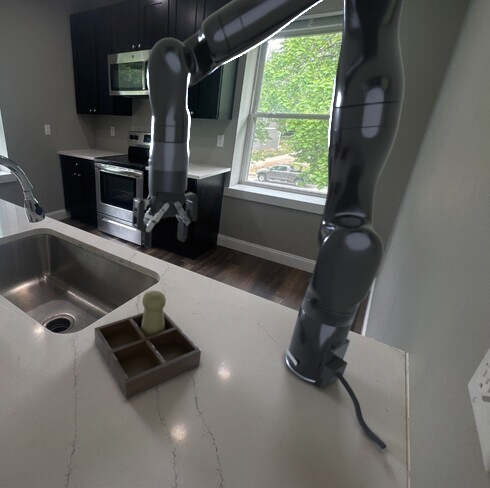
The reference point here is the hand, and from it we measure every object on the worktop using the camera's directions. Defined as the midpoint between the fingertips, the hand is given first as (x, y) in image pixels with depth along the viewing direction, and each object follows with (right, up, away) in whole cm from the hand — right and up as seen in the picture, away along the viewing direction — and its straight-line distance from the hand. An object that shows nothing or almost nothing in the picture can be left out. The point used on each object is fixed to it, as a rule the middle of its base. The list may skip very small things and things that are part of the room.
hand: (164, 243), depth 63 cm
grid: (-4, -24, +2) cm, 24 cm away
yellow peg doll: (-3, -21, +7) cm, 22 cm away
